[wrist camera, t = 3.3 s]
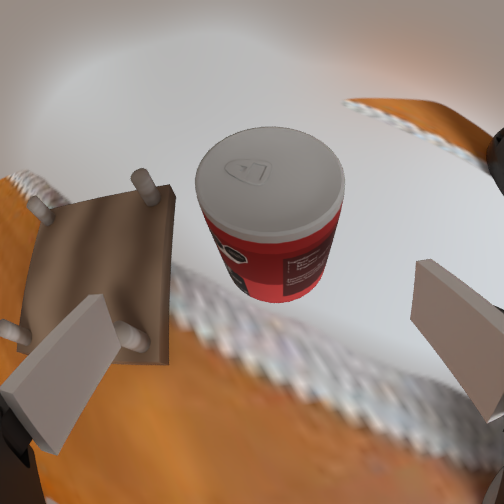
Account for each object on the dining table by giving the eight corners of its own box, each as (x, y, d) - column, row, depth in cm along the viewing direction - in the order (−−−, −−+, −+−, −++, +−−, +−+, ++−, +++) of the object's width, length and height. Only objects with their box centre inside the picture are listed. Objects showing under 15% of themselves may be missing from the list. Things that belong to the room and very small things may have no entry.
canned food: (232, 221, 27) (206, 127, 17) (323, 222, 26) (338, 126, 16) (222, 304, 24) (179, 235, 14) (324, 307, 23) (353, 239, 13)
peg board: (176, 196, 29) (157, 159, 24) (168, 365, 22) (138, 355, 17) (53, 219, 30) (27, 193, 25) (29, 355, 23) (-9, 342, 18)
